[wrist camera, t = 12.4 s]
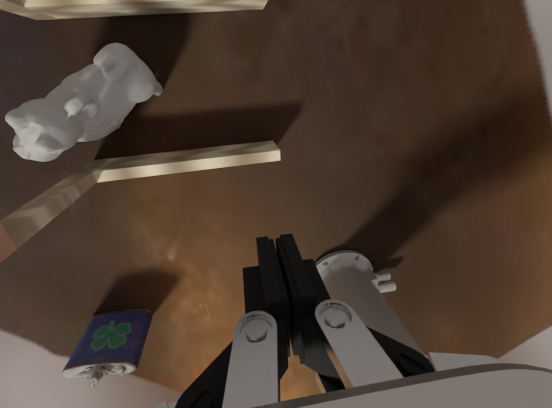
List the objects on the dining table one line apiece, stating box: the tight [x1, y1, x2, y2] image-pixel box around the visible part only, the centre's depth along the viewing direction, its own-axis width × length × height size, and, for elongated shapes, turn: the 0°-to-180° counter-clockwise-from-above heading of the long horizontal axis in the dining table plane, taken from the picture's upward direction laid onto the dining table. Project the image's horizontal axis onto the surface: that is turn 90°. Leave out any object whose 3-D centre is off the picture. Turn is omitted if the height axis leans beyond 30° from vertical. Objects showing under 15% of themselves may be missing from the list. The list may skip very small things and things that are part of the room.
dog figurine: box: [5, 43, 163, 162], centre depth 24 cm, size 5×13×11 cm, turn 125°
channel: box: [0, 0, 280, 263], centre depth 21 cm, size 22×16×19 cm
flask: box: [63, 309, 153, 387], centre depth 38 cm, size 9×3×11 cm, turn 85°
